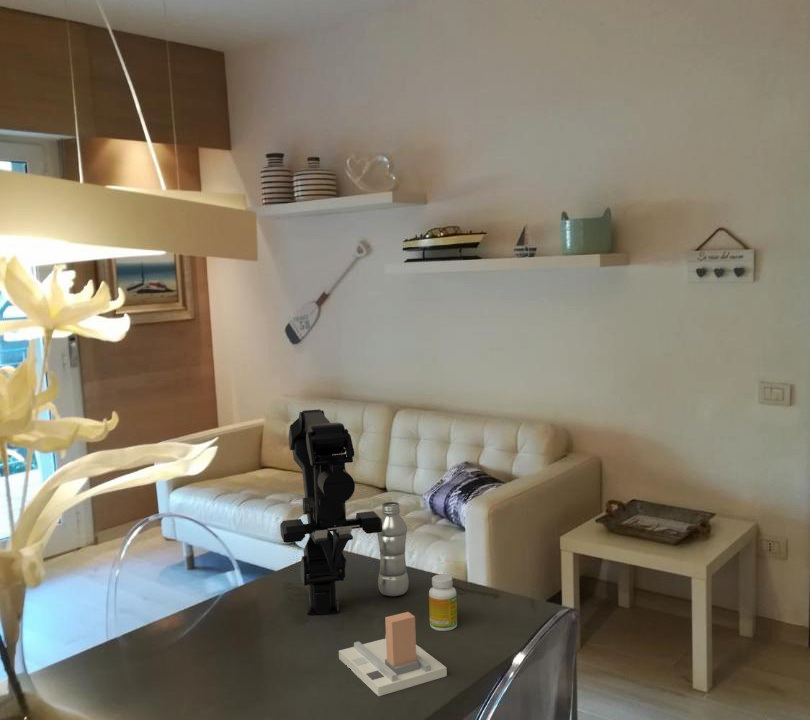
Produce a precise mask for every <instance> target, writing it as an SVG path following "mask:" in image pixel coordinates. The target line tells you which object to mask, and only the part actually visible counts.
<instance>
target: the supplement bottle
mask: <svg viewBox="0 0 810 720" xmlns="http://www.w3.org/2000/svg"><path fill="white" fill-rule="evenodd" d="M453 583H454V582H453V576H451V575H448V574H443V573H441V574H436V575H434V576H432V577H431V586H432V587H430V589H429V591H428V600H429V601H428V603H429V604H428V605H429V625H430V626H429V627H431V629H433V630H435V631H438V632H439V631H441V632H447V631H452V630H454V629H456V628H457V627H458V603H457V602H458V601H457V590H456V588H455V587H454V586H453Z"/></svg>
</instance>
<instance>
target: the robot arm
mask: <svg viewBox="0 0 810 720" xmlns="http://www.w3.org/2000/svg"><path fill="white" fill-rule="evenodd" d="M298 413H299V415H298V418H296V420H294V421H293V422H292V423H291V424H290V425H289V430H288V449H289V451H292V457H293V461H294V462H295V463H296V464H297V466H298V467H300V469H301V472H302V481H303V489H304V497H303V498H302V513H303V515H306V518H307V523H303V521H302V519H301V518H298V519H287V520H282V521H281V523H280V536H281V539H282V542H283V543H284V544H285V543H286V544H289V543H299V542H302V541H303V540H304V539H305V538H306V535H309V537H308V539H307V542H306V544H305V546H304V548H303V555H302V556H301V558H300V559H301V561H300V566H299V573H300V580H301V583H302V584H303V586H304V587H305V586H308V603H307V611H306V615H311V616H312V615H313V616H314V615H326V614H327V615H328V614H339V611H340V599H338V596H337V595H338V594H337V593H338V592H337V582H340V581H341V582H343V581H344V580H345V578H346V566H347V558H346V557H345V556H344V553H343V552H344V550H345V548H346V546H347V544H348V542H349V541H352V540H353V539H354V536H353V534H352V531H353V530H355V529H361V530H362V531H363V532H365V534H367V535H368V534H377V533H378V532H382V520H381V518H382V517H380V516H379V515H378V514H377V513H376V512H375V511H373V510H371V511H362V512H356V514H355V518H347V511H346V510H347V509H346V508H347V506H346V503H347V502H348V501H349V500H350V499H351V498H352V497H353V495H354V493H355V491H356V490H355V487H356V486H355V485H356V482H355V481H354V478H353V477H352V475H351V474H350V473H349V472H348V471H347V469H346V464H349V463H353V462H354V459H353V458H354V456H355V449H354V446H353V439H352V436H351V434H350V433H349V430H348V429H347V428H345V426H344V424H343V423H341V422H331V421H330V420H329V419H328V418H327V417H326V416H325V411H324V410H321V409H306V410H302V411H299V412H298Z"/></svg>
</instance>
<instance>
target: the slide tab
mask: <svg viewBox="0 0 810 720" xmlns="http://www.w3.org/2000/svg"><path fill="white" fill-rule="evenodd" d="M384 622H385V623H384V625H385V634H386V650H387V659H385V664H386V665H387V666H388V667H389V668H390V669H391V670H393V671H394V672H395V673H396V674H397V675H400V674H404V673H407V672H411V671H414V670H417V669H419V662H418V661H417V660H416V645H417V641H416V640H417V637H416V636H417V635H416V634H417V633H416V616H415V615H413V614H412V613H410V612H409V611H406V612H402V613H398V614H394V615H389V616H385V621H384Z"/></svg>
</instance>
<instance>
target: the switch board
mask: <svg viewBox="0 0 810 720" xmlns="http://www.w3.org/2000/svg"><path fill="white" fill-rule="evenodd" d="M384 635H385V638H382V639H378V640H374V641H371V642H366V643H362V642H360V641H355V642H353V646H351V647H347V648H344V649H340V650H338V659H339V660H340V661H341V662H342V663H343V664H344V665H345V666H346V665H347V668H348V669H349V668H350V669H351V670H350V669H349V670H350V671H352V673H354V675H355V676H357V678H359V679H360V680H361V682H363V683H364V684H365V685H366V686H367V687H368V688H370V689H371V691H372V692H373V693H374V694H375V695H377V696H378V697H381V696H384V695H388V694H391V693H394V692H399V691H403V690H406V689H409V688H411V687H416V686H418V685H421V684H424V683H425V684H426V683H428V682H432V681H435V680H438V679H441V678H442V679H443V678H445V677H447V676H448V674H447V673H448V671H447V667H446V666H445V665H444V664H442V663H441V662H440V661H439V660H437V659H436V658H434V657H433V656H432V655H431V654H429V653H428V652H426V650H425V649H423V648H422V647H420V646H419V645H417V644H416V660H417V661H418V662H419V669H417V670H414V671H411V672H407V673H404V674H400V675H397V674H396V673H395V672H394V671H393V670H391V669H390V668H389V667H388V666H387V665H386V664H385V659H387V650H386V633H385V634H384Z"/></svg>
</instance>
